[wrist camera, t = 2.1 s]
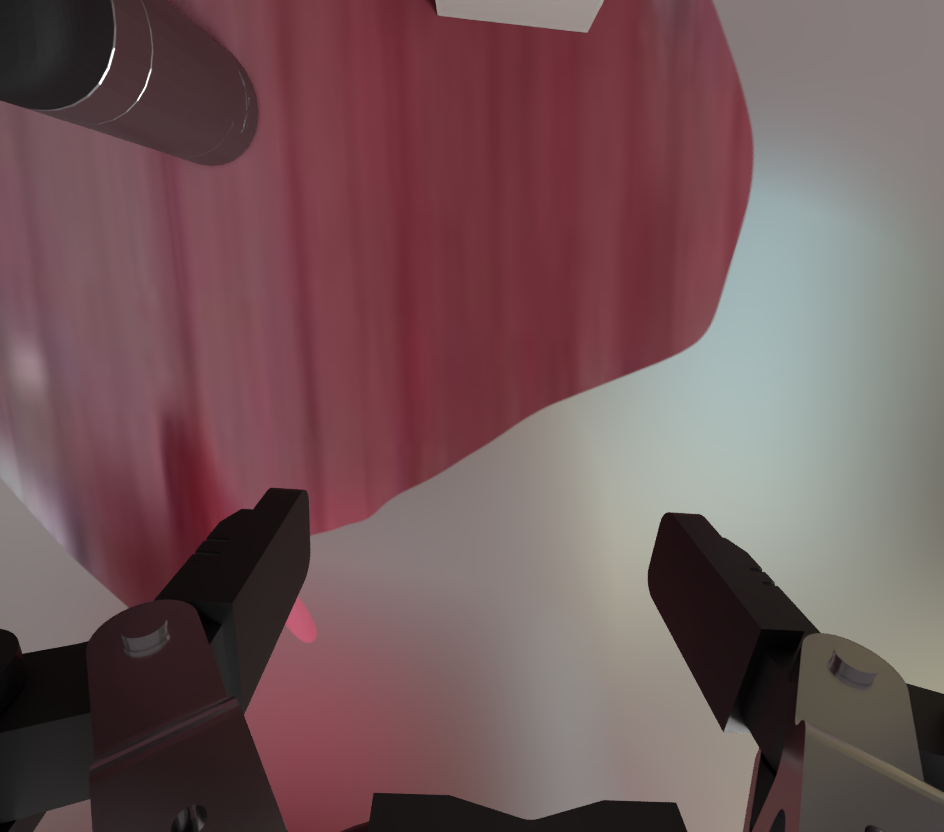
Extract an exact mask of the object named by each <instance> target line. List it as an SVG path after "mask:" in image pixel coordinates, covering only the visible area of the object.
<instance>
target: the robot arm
mask: <svg viewBox="0 0 944 832" xmlns="http://www.w3.org/2000/svg"><path fill="white" fill-rule="evenodd" d="M0 100H1V101H4V102H7V103H10V104H14V105H17V106H20V107H23V108H26V109H29V110H32V111H35V112H39V113H42V114H45V115H48V116H51V117H54V118H57V119H60V120H63V121H67V122H70V123H74V124H77V125H80V126H83V127H86V128H89V129H92V130H95V131H98V132H101V133H105V134H108V135H111V136H114V137H117V138H120V139H123V140H126V141H129V142H132V143H136V144H139V145H142V146H145V147H148V148H151V149H154V150H157V151H160V152H163V153H166V154H169V155H172V156H175V157H178V158H182V159H185V160H188V161H191V162H194V163H197V164H201V165H210V166H213V165H222V164H225V163H227V162H230V161H233V160H234V159H236V158H237V157H238V156H240V155H241V154H242V153H243V152H244V151H245V150H246V148H247V147H248V146H249V144H250V142H251V140H252V138H253V136H254V134H255V130H256V126H257V119H258V106H257V99H256V94H255V91H254V88H253V85H252V82H251V80H250V78H249V77H248V75H247V73H246V71H245V69H244V68H243V67H242V66H241V64H240V63H239V62H238V60H237V59H236V58H235V57H234V56H232V55H231V54H230V53H229V52H228V51H227V50H226V49H225V48H223V47H222V46H221V45H220V44H218V43H217V42H216V41H215V40H214V39H212V38H211V37H210V36H209V35H208V34H207V33H205V32H204V31H203V30H202V29H201V28H199V27H198V26H197V25H196V24H195V23H193V22H192V21H191V20H190V19H188V18H187V17H186V16H185V15H184V14H182V13H181V12H180V11H179V10H177V9H176V8H175V7H174V6H173V5H171V4H170V3H169V2H168V1H166V0H0ZM309 562H310V522H309V498H308V493H307V491H306V490H299V489H283V488H270V489H268V490H267V492H266V493H265V494H264V496H263V497H262V498H261V500H260V501H259V502H258V504H257V505H256V506H255V508H254V509H253V510H251V509H241V510H239V511H237V512H236V513H234V514H232V515H231V516H229V517H227V518H226V519H224V520H222V521H221V522H220V523H219V524H218V525H217V526H216V527H215V529H214V530H213V531H212V532H211V533H210V534H209V536H208V537H207V540H206V541H204V542H203V543H202V544H201V545H200V546H199V547H198V549H197V550H196V553H195V554H193V555H192V556H191V557H190V558H189V559H188V561H187V562H186V563H185V564H184V565H183V566H182V568H181V569H180V570H179V571H178V572H177V574H176V575H175V576H174V577H173V578H172V579H171V581H170V582H169V583H168V584H167V585H166V587H165V588H164V589H163V590H162V591H161V593H160V594H159V595H158V596H157V597H156V598H155V600H154V601H150V602H146V603H142V604H139V605H136V606H134V607H131V608H129V609H126V610H124V611H122V612H120V613H119V614H117V615H115V616H113V617H112V618H110V619H109V620H108V621H106V622H105V623H104V624H103V625H102V626H100V627H99V628H98V629H97V631H96V632H95V633H94V634H93V635H92V637H91V639H90V640H89V641H87V642H83V643H79V644H75V645H69V646H63V647H59V648H53V649H47V650H41V651H36V652H31V653H25V654H22V651H21V648H20V645H19V641H18V639H17V637H16V636H15V635H14V634H13V633H11V632H9V631H7V630H3V629H0V832H33V831H34V830H35V828H36V826H37V825H38V823H39V822H40V820H41V819H42V817H43V816H44V814H45V813H46V811H48V810H52V809H55V808H60V807H63V806H66V805H70V804H74V803H77V802H81V801H84V800H88V799H90V800H91V816H92V831H93V832H288V831H287V828H286V826H285V823H284V821H283V818H282V815H281V812H280V810H279V807H278V805H277V802H276V799H275V797H274V794H273V791H272V789H271V786H270V784H269V781H268V778H267V775H266V773H265V770H264V768H263V765H262V762H261V759H260V757H259V755H258V752H257V749H256V746H255V744H254V741H253V738H252V736H251V733H250V730H249V728H248V725H247V723H246V720H245V717H244V714H245V711H246V709H247V707H248V705H249V702H250V700H251V698H252V696H253V694H254V691H255V689H256V687H257V685H258V683H259V680H260V678H261V676H262V674H263V672H264V669H265V667H266V665H267V663H268V661H269V658H270V656H271V654H272V652H273V650H274V647H275V645H276V642H277V640H278V638H279V636H280V634H281V632H282V630H283V627H284V625H285V623H286V621H287V619H288V616H289V614H290V612H291V610H292V608H293V605H294V603H295V601H296V599H297V596H298V594H299V592H300V590H301V588H302V585H303V583H304V581H305V578H306V575H307V572H308V568H309ZM648 587H649V591H650V595H651V597H652V599H653V601H654V603H655V605H656V607H657V609H658V611H659V613H660V614H661V616H662V618H663V620H664V622H665V624H666V626H667V628H668V629H669V631H670V633H671V635H672V636H673V639H674V641H675V642H676V644H677V646H678V648H679V650H680V652H681V654H682V656H683V657H684V659H685V661H686V663H687V665H688V667H689V669H690V671H691V672H692V674H693V676H694V678H695V680H696V682H697V684H698V686H699V687H700V689H701V691H702V693H703V695H704V697H705V699H706V700H707V702H708V704H709V706H710V708H711V710H712V712H713V714H714V715H715V717H716V719H717V721H718V723H719V725H720V727H721V729H722V730H723V732H725V733H751V734H752V736H753V737H754V739H755V741H756V743H757V744H758V746H759V750H758V752H757V754H756V757H755V761H754V767H753V773H752V779H751V785H750V792H749V798H748V803H747V809H746V815H745V821H744V827H743V832H944V694H942V693H938V692H935V691H931V690H928V689H924V688H921V687H917V686H914V685H910V684H906V683H905V681H904V680H903V678H902V677H901V676H900V674H899V673H898V672H897V671H896V670H895V669H894V668H893V667H892V666H891V665H890V664H889V663H887V662H886V661H885V660H884V659H882V658H881V657H880V656H878V655H877V654H875V653H874V652H872V651H871V650H869V649H867V648H865V647H864V646H862V645H860V644H858V643H855V642H853V641H851V640H848V639H845V638H843V637H839V636H836V635H831V634H824V633H820V632H819V631H818V629H817V628H816V627H815V626H814V625H813V624H812V623H811V622H810V621H809V620H808V619H807V618H806V616H805V615H804V614H803V613H802V612H801V611H800V610H799V609H798V608H797V607H796V605H795V604H794V603H793V602H792V601H791V600H790V599H789V598H788V597H787V596H786V595H785V594H784V592H783V591H782V590H781V589H780V588H779V587H778V586H775V584H774V581H773V580H772V579H771V578H770V577H769V576H768V575H767V574H766V573H765V572H762V568H761V567H760V566H759V565H758V564H757V563H756V562H755V561H754V560H753V558H751V556H750V555H749V554H748V553H747V552H746V551H744V550H743V549H741V548H740V547H738V546H737V545H735V544H734V543H732V542H731V541H729V540H728V539H726V538H722V537H721V535H719V533H718V532H717V531H716V530H715V529H714V528H713V526H712V525H711V524H710V523H709V522H708V521H707V519H706V518H705V517H703V516H702V515H700V514H686V513H670V512H669V513H665V514H664V516H663V517H662V519H661V522H660V526H659V529H658V533H657V537H656V541H655V545H654V549H653V553H652V557H651V561H650V565H649V569H648ZM341 832H687V830H686V827H685V824H684V822H683V819H682V817H681V814H680V811H679V809H678V806H677V804H676V803H672V802H641V801H609V800H604V801H600V802H596V803H592V804H590V805H586V806H582V807H579V808H575V809H571V810H568V811H565V812H561V813H558V814H554V815H550V816H547V817H544V818H540V819H536V820H526V819H522V818H518V817H515V816H512V815H509V814H506V813H503V812H500V811H497V810H494V809H491V808H487V807H484V806H481V805H478V804H475V803H472V802H469V801H466V800H463V799H459V798H456V797H453V796H450V795H423V794H393V793H391V794H390V793H374V794H373V801H372V807H371V814H370V820H369V822H366V823H362V824H359V825H356V826H353V827H350V828H348V829H345V830H343V831H341Z"/></svg>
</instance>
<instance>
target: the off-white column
mask: <svg viewBox="0 0 944 832" xmlns="http://www.w3.org/2000/svg"><path fill="white" fill-rule="evenodd" d="M435 1H436V8H437V15H438V16H446V17H455V18H464V19H472V20H481V21H490V22H498V23H507V24H516V25H524V26H533V27H542V28H550V29H559V30H568V31H576V32H585V33H587V32H588V30H589V28H590V26H591V24H592V23H593V21H594V19H595V17H596V15H597V13H598V11H599V9H600V7H601V5H602V3H603V1H604V0H435Z"/></svg>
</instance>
